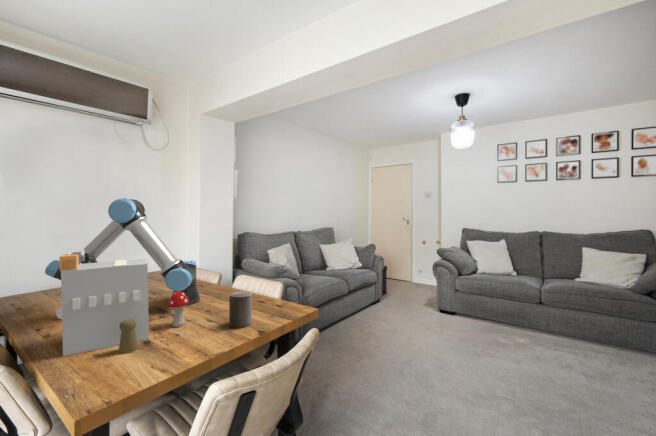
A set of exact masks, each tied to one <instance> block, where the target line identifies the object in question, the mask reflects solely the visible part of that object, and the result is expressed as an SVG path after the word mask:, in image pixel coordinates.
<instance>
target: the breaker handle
mask: <svg viewBox="0 0 656 436" xmlns="http://www.w3.org/2000/svg"><path fill="white" fill-rule="evenodd" d="M58 261H59V262H60V271H61V270H73V269H77V268H78V267H79V264H80V263H81V262H82V261H83V260H82V257H81V251H75V252H71V254H70V255H66V254H62V255H60V256H59V260H58Z"/></svg>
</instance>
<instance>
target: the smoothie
mask: <svg viewBox="0 0 656 436" xmlns="http://www.w3.org/2000/svg"><path fill="white" fill-rule="evenodd" d="M55 316H56V317H57V318H58V319H59V320H62V305H61V306H60V307H58V308H57V309H56V311H55Z"/></svg>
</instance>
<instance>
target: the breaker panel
mask: <svg viewBox="0 0 656 436" xmlns="http://www.w3.org/2000/svg"><path fill="white" fill-rule="evenodd" d="M97 262H98V261H97ZM148 267H149V265H148V262H147V259H146V258H141V259H140V258H139V259H117V260H114V261H100V262H98V263H85V264H82V263H80V264H79V267H78V268H77V269H73V270H61V280H60V285H61V286H60V287H61V289H60V290H61V295H60V296H61V306H62V319H61V325H62V326H61V327H62V328H61V330H62V333H61V334H62V357H65V356H67V357H68V356H71V355H77V354H80V353H86V352H91V351H95V350H100V349H101V350H102V349H105V348H111V347H115V346H120V338H121V331H122V330H121V329H120V323H121V322H122V321H124V320H127V319H134V320H136V327H135V332H136V338H137V342H139V341H144V340H149V339H150V329H149V327H150V325H149V323H150V322H149V280H148V279H149V276H148V272H149V271H148Z"/></svg>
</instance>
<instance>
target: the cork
mask: <svg viewBox="0 0 656 436" xmlns="http://www.w3.org/2000/svg"><path fill="white" fill-rule="evenodd" d="M135 327H136V320H134V319H127V320H124V321H122V322H121V323H120V329H121V330H122V331H121V338H120V345H118V346H119V347H118V353H119V354H123V355H124V354H130V353H133V352H135V351H137V350H138V349H139V345H138V341H137V338H136V332H135Z"/></svg>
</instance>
